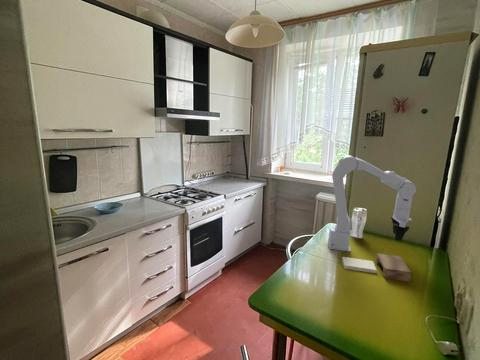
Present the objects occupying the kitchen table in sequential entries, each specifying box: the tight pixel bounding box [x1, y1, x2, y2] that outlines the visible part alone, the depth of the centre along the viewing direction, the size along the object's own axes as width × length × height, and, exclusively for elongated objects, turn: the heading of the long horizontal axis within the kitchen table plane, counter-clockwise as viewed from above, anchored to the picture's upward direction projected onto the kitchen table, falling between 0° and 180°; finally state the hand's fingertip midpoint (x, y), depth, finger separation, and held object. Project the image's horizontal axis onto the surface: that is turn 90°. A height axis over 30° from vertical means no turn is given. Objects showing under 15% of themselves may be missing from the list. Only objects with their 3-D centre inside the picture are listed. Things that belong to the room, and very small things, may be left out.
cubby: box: [375, 253, 413, 283], centre depth 102 cm, size 9×12×4 cm
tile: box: [341, 256, 378, 274], centre depth 105 cm, size 12×7×2 cm, turn 75°
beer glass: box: [350, 206, 368, 239], centre depth 133 cm, size 7×7×15 cm
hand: (397, 236), depth 112 cm, fingers open, 7 cm apart
